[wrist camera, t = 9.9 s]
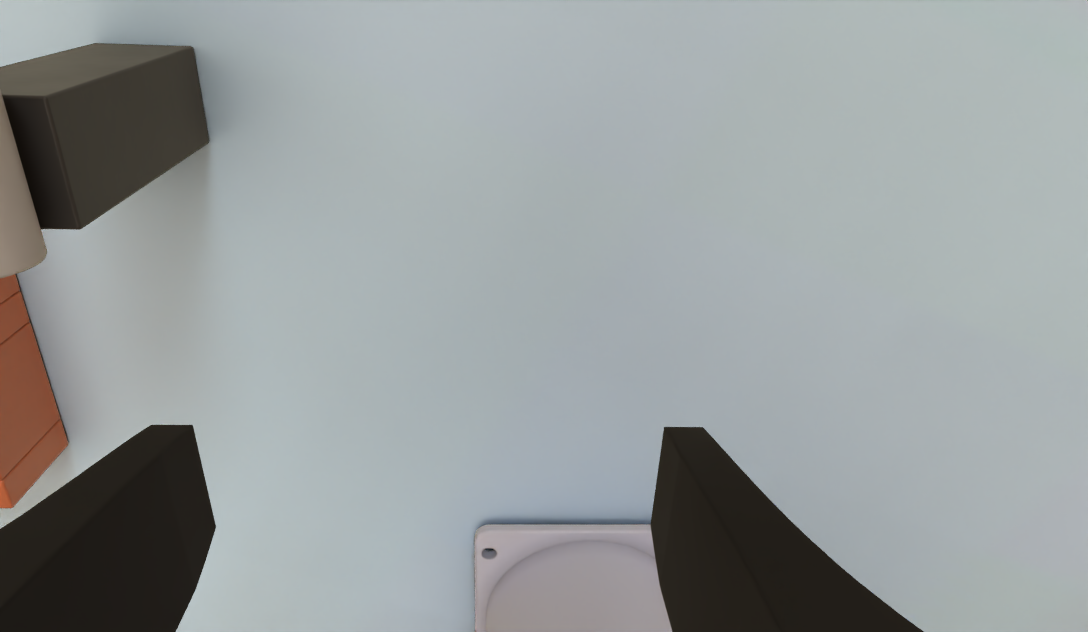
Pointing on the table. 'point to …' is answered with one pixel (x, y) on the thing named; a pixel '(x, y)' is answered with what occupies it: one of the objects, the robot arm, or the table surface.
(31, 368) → the holder
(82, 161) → the block with cylinder
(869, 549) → the table surface
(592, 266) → the table surface
